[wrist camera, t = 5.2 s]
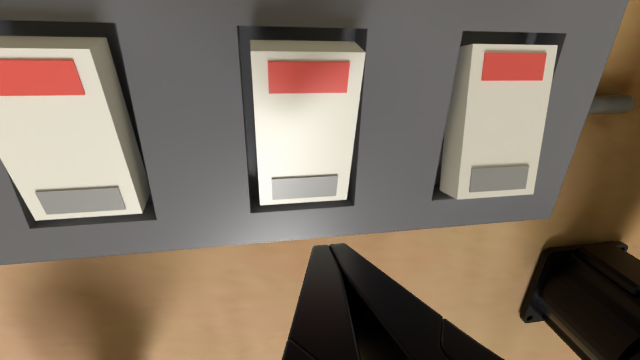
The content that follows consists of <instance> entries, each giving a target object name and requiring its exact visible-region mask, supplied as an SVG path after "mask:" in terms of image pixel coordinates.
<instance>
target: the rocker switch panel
mask: <svg viewBox="0 0 640 360" xmlns="http://www.w3.org/2000/svg"><path fill="white" fill-rule="evenodd" d="M628 1H629V0H0V36H50V37H106V38H107V41H108V44H109V48H110V51H111V55H112V58H113V62H114V65H115V69H116V72H117V76H118V79H119V83H120V86H121V89H122V93H123V96H124V100H125V103H126V107H127V110H128V114H129V117H130V121H131V124H132V127H133V131H134V134H135V138H136V141H137V145H138V148H139V152H140V155H141V159H142V162H143V166H144V169H145V172H146V176H147V179H148V183H149V186H150V190H151V193H150V195H149V198H148V201H147V203H146V206H145V208H144V211H143V213H142V214H127V215H112V216H97V217H82V218H67V219H52V220H37V221H35V219H34V217H33V215H32V213H31V212H30V210H29V208H28V206H27V205H26V203H25V201H24V199H23V198H22V196H21V194H20V192H19V191H18V189H17V187H16V185H15V183H14V182H13V180H12V178H11V176H10V175H9V173H8V171H7V169H6V168H5V166H4V164H3V162H2V161H1V159H0V265H8V264H20V263H32V262H43V261H55V260H67V259H79V258H90V257H102V256H114V255H125V254H137V253H149V252H161V251H172V250H184V249H196V248H207V247H219V246H231V245H243V244H254V243H266V242H278V241H289V240H301V239H313V238H325V237H336V236H348V235H360V234H371V233H383V232H395V231H407V230H418V229H430V228H442V227H453V226H465V225H477V224H489V223H500V222H512V221H524V220H535V219H547V218H550V217H551V214H552V211H553V209H554V206H555V203H556V200H557V198H558V195H559V192H560V189H561V187H562V184H563V181H564V178H565V176H566V173H567V170H568V167H569V164H570V162H571V159H572V156H573V153H574V151H575V148H576V145H577V142H578V140H579V137H580V134H581V131H582V128H583V126H584V123H585V120H586V117H587V115H588V114H613V113H626V112H628V111H630V110H631V109H632V108H633V107H634V105H635V101H634V99H633V97H631V96H629V95H595V93H596V90H597V87H598V84H599V81H600V79H601V76H602V73H603V70H604V68H605V65H606V62H607V59H608V57H609V54H610V51H611V48H612V46H613V43H614V40H615V37H616V34H617V32H618V29H619V26H620V23H621V21H622V18H623V15H624V12H625V10H626V7H627V4H628ZM250 40H294V41H355V42H356V43H357V44H358V45H359V46H360V47H361V48H362V49H363V50H364V51H365V52H366V53H365V61H364V69H363V77H362V84H361V92H360V100H359V108H358V116H357V123H356V131H355V139H354V147H353V154H352V162H351V170H350V178H349V185H348V193H347V200H333V201H318V202H303V203H288V204H273V205H260V198H259V181H258V165H257V149H256V132H255V116H254V100H253V83H252V67H251V50H250ZM470 44H512V45H558V47H557V53H556V59H555V66H554V72H553V78H552V84H551V90H550V96H549V102H548V108H547V114H546V120H545V127H544V133H543V139H542V145H541V151H540V157H539V163H538V169H537V175H536V181H535V188H534V194H530V195H516V196H502V197H488V198H473V199H459V200H457V199H455V198H453V197H451V196H449V195H448V194H446V193H444V192H442V191H440V178H441V167H442V155H443V144H444V133H445V125H446V119H447V114H448V108H449V103H450V98H451V92H452V87H453V81H454V76H455V70H456V65H457V60H458V54H459V49H460V46H465V45H470Z"/></svg>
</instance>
